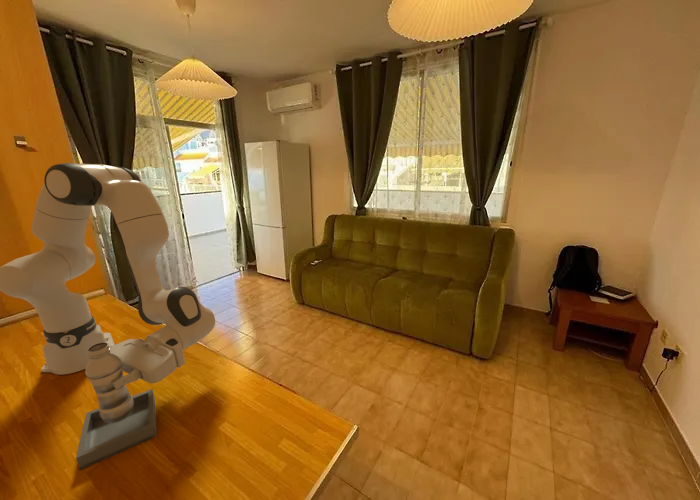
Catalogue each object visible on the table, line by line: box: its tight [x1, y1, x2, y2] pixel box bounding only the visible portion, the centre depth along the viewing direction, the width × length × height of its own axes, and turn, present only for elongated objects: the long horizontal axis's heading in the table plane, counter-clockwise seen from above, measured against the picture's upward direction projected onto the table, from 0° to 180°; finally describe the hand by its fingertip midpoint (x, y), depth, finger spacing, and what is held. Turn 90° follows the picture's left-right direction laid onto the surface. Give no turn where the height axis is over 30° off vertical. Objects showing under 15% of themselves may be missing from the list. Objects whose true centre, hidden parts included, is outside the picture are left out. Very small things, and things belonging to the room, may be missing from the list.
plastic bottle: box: [85, 342, 134, 423], centre depth 67 cm, size 6×7×20 cm
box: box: [75, 388, 158, 470], centre depth 71 cm, size 14×14×4 cm
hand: (103, 380), depth 66 cm, fingers closed on plastic bottle, 6 cm apart
